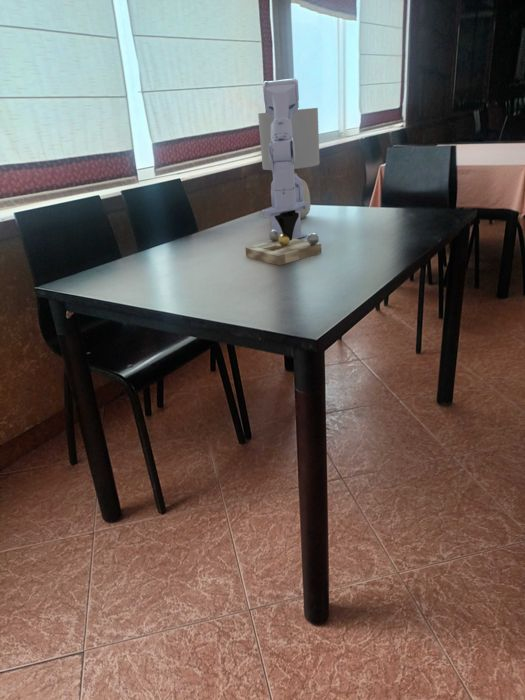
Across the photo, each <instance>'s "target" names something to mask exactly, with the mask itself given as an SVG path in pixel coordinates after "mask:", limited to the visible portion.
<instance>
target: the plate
mask: <svg viewBox="0 0 525 700" xmlns="http://www.w3.org/2000/svg"><path fill="white" fill-rule="evenodd" d="M244 249H245V257H247V258H251V259H254V260H258V261H262V262H265V263H269V264H273V265H277V266H282V265H285V264H288V263H292V262H296V261H299V260H302V259H305V258H309V257H311V256H315V255H318V254H322V243H319V242H318V243H317V244H315V245H310V244H309V243H308V241H307V240H304V239H301V238H298V239H295V238H292V240H290V242H289V244H288V245H286V246H282V245H280V243H279V241H278V240H277V241H273V240H269V241H266V242H262V243H258V244H255V245H251V246H246V247H245V248H244Z"/></svg>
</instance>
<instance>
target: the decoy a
mask: <svg viewBox="0 0 525 700" xmlns="http://www.w3.org/2000/svg"><path fill="white" fill-rule="evenodd" d="M268 236H269V239H270V241H277V240H278V239H279V236H280V232H279V231H278V230H272V229H271V230H270V232H269V234H268Z"/></svg>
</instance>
